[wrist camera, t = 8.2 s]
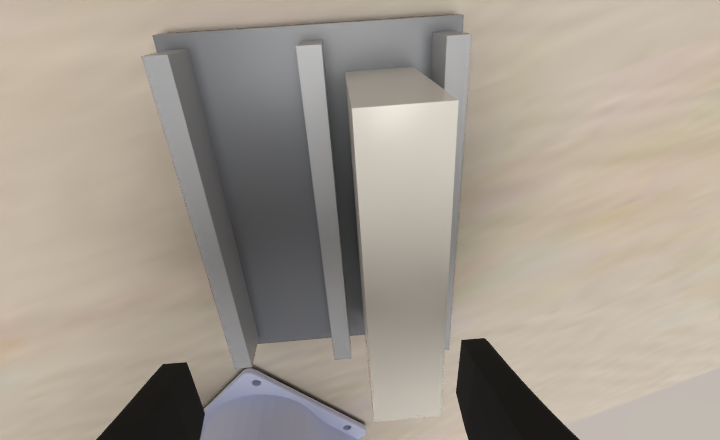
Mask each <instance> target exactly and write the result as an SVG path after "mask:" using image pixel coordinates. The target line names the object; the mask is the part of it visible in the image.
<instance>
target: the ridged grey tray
mask: <svg viewBox="0 0 720 440" xmlns="http://www.w3.org/2000/svg"><path fill="white" fill-rule="evenodd" d="M463 17H464V15H460V14H452V15H437V16H422V17H407V18H392V19H376V20H361V21H346V22H331V23H316V24H301V25H285V26H270V27H255V28H240V29H225V30H210V31H194V32H179V33H164V34H157V35H152V36H153V39H154V43H155V46H156V50H157V53H153V54H149V55H145V56H142V60H143V63H144V66H145V70H146V73H147V76H148V80H149V83H150V86H151V90H152V93H153V96H154V100H155V103H156V106H157V110H158V113H159V116H160V120H161V123H162V126H163V130H164V133H165V136H166V140H167V143H168V146H169V150H170V153H171V156H172V160H173V163H174V166H175V170H176V173H177V176H178V180H179V183H180V186H181V190H182V193H183V196H184V200H185V203H186V206H187V210H188V213H189V216H190V220H191V223H192V226H193V230H194V233H195V236H196V240H197V243H198V246H199V250H200V253H201V256H202V260H203V263H204V266H205V270H206V273H207V276H208V280H209V283H210V286H211V290H212V293H213V296H214V300H215V303H216V306H217V310H218V313H219V316H220V320H221V323H222V326H223V330H224V333H225V336H226V340H227V343H228V346H229V350H230V353H231V356H232V360H233V363H234V366H235V369H239V368H250V367H252V365H253V360H254V356H255V351H256V347H257V344H262V343H274V342H285V341H296V340H307V339H319V338H330V337H332V342H333V350H334V358H335V360H339V359H350V358H351V346H350V336H353V335H364V334H365V328H364V318H363V306H362V293H361V280H360V267H359V254H358V241H357V228H356V214H355V201H354V188H353V175H352V162H351V149H350V136H349V123H348V110H347V96H346V83H345V72H350V71H364V70H377V69H390V68H404V67H415V68H416V69H417V70H419V71H420V72H421V73H423V74H424V75H425V76H427V77H428V78H429V79H431V80H432V81H433V82H435V83H436V84H438V85H439V86H440V87H442V88H443V89H444V90H446V91H447V92H448V93H450V94H451V95H452V96H454V97H455V98H456V99H458V100H459V103H458V121H457V138H456V156H455V173H454V191H453V208H452V226H451V243H450V261H449V278H448V296H447V313H446V331H445V348H444V350H449V343H450V329H451V315H452V301H453V287H454V273H455V259H456V245H457V231H458V217H459V204H460V190H461V176H462V162H463V148H464V134H465V120H466V106H467V92H468V79H469V65H470V51H471V37H472V34H468V33H463Z"/></svg>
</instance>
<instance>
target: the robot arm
mask: <svg viewBox="0 0 720 440" xmlns="http://www.w3.org/2000/svg"><path fill="white" fill-rule="evenodd" d="M456 394H457V398H458V402H459V406H460V410H461V414H462V418H463V422H464V426H465V430H466V433H467V436H468V439H469V440H579V439H578V438H577V437H576V436H575V435H574V434H573V433H572V432H571V431H570V430H569V429H568V428H567V427H566V426H565V425H564V424H563V423H562V422H561V421H560V420H559V419H558V418H557V417H556V416H555V415H554V414H553V413H552V412H551V411H550V410H549V409H548V408H547V407H546V406H545V405H544V404H543V403H542V402H541V400H540V399H539V398H538V397H537V396H536V395H535V394H534V393H533V392H532V391H531V390H530V389H529V388H528V387H527V386H526V384H525V383H524V382H523V381H522V380H521V379H520V378H519V377H518V376H517V374H516V373H515V372H514V371H513V370H512V369H511V368H510V367H509V365H508V364H507V363H506V362H505V361H504V360H503V358H502V357H501V356H500V355H499V354H498V353H497V351H496V350H495V349H494V348H493V347H492V345H491V344H490V343H489V342H488V341H487V340H486V339H485V338H481V339H469V340H462V342H461V351H460V361H459V370H458V379H457V388H456ZM365 434H366V427H365V425H363V424H361V423H360V422H358V421H356V420H354V419H352V418H350V417H348V416H346V415H344V414H342V413H340V412H338V411H336V410H334V409H332V408H330V407H328V406H326V405H324V404H322V403H320V402H318V401H316V400H314V399H312V398H310V397H308V396H306V395H304V394H302V393H300V392H298V391H296V390H294V389H293V388H291V387H289V386H287V385H285V384H283V383H281V382H279V381H277V380H275V379H273V378H271V377H269V376H267V375H265V374H263V373H261V372H259V371H257V370H255V369H252V368H248V369H245V370H243V371H242V372H241V373H240V374H239V375H238V376H237V377H236V378H235V379H234V380H233V381H232V382H231V383H230V384H229V385H228V386H227V387H226V388H225V389H224V390H223V391H222V392H221V393H220V394H219V395H218V396H217V397H216V398H215V399H213V400H212V401H211V402H210V403H209V404H208V405H207V406H206V407H205V408H204V409H203V407H202V404H201V401H200V398H199V395H198V393H197V390H196V387H195V384H194V381H193V378H192V376H191V373H190V370H189V367H188V364H187V362H185V363H172V364H163V365H162V366H161V367H160V368H159V369H158V370H157V371H156V373H155V374H154V375H153V376H152V377H151V378H150V379H149V380H148V382H147V383H146V384H145V385H144V386H143V387H142V388H141V390H140V391H139V392H138V393H137V394H136V395H135V397H134V398H133V399H132V400H131V401H130V402H129V404H128V405H127V406H126V407H125V408H124V409H123V410H122V412H121V413H120V414H119V415H118V416H117V417H116V418H115V419H114V421H113V422H112V423H111V424H110V425H109V426H108V427H107V428H106V429H105V431H104V432H103V433H102V434H101V435H100V436H99V437H98V438H97V440H359V439H360V438H362V437H363V436H364V435H365Z"/></svg>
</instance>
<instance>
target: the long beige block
mask: <svg viewBox="0 0 720 440" xmlns="http://www.w3.org/2000/svg"><path fill="white" fill-rule="evenodd" d="M345 83H346V96H347V110H348V123H349V136H350V149H351V162H352V175H353V188H354V201H355V214H356V228H357V241H358V254H359V267H360V280H361V293H362V306H363V318H364V328H365V338H366V348H367V358H368V368H369V377H370V387H371V397H372V407H373V417H374V422H380V421H390V420H400V419H410V418H421V417H431V416H441V400H442V383H443V365H444V348H445V331H446V313H447V296H448V278H449V261H450V243H451V226H452V208H453V191H454V173H455V156H456V138H457V121H458V103H459V100H458V99H456V98H455V97H454V96H452V95H451V94H450V93H448V92H447V91H446V90H444V89H443V88H442V87H440V86H439V85H438V84H436V83H435V82H433V81H432V80H431V79H429V78H428V77H427V76H425V75H424V74H423V73H421V72H420V71H419V70H417V69H416V68H415V67H404V68H390V69H377V70H364V71H350V72H345Z"/></svg>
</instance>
